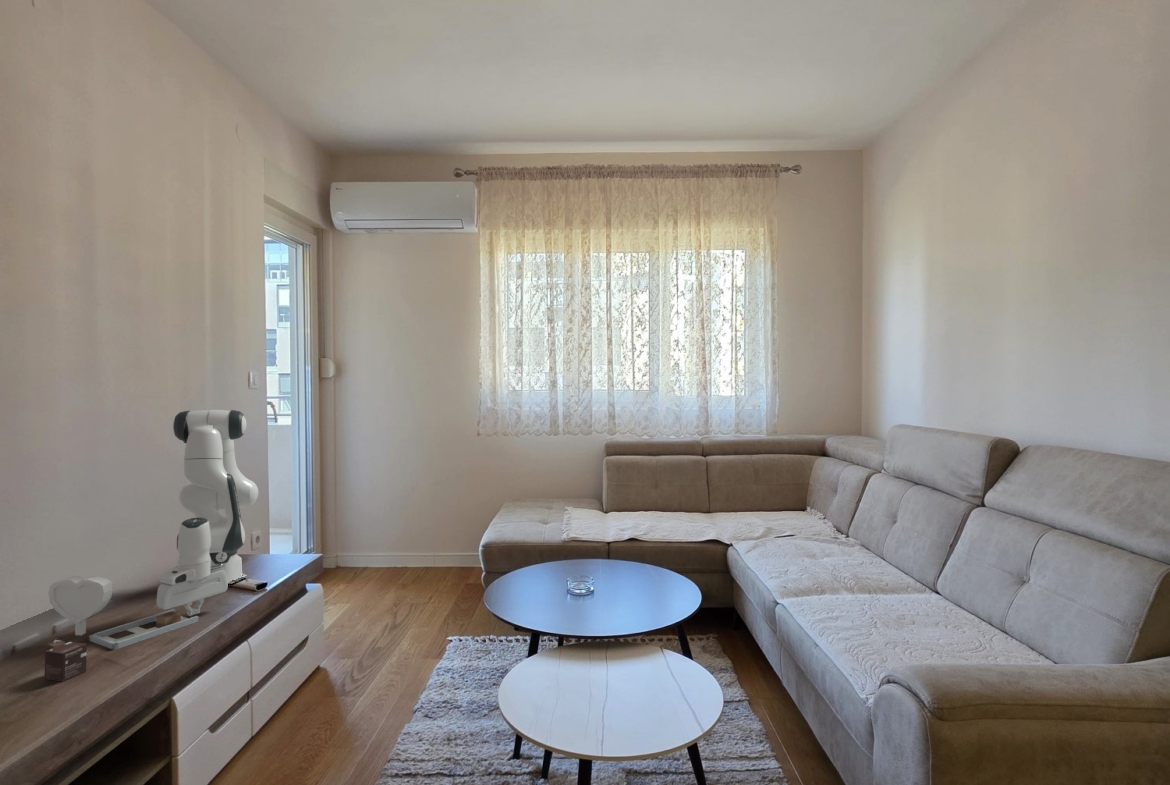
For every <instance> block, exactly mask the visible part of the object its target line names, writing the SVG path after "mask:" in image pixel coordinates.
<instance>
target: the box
mask: <svg viewBox="0 0 1170 785" xmlns="http://www.w3.org/2000/svg"><path fill="white" fill-rule="evenodd" d="M85 672H87V643H83V642H82V643H81V642H74V641H68V642H67V643H61V644H59V645H56V646H54V647H52V648H49V649H47V650H45V651H44V680H47V681H48V680H49V681H58V682H65V681H67V680H70V679H72V678H75V677H76V676H77V677H78V676H79V675H81V674H83V673H85ZM78 674H79V675H78Z"/></svg>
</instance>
